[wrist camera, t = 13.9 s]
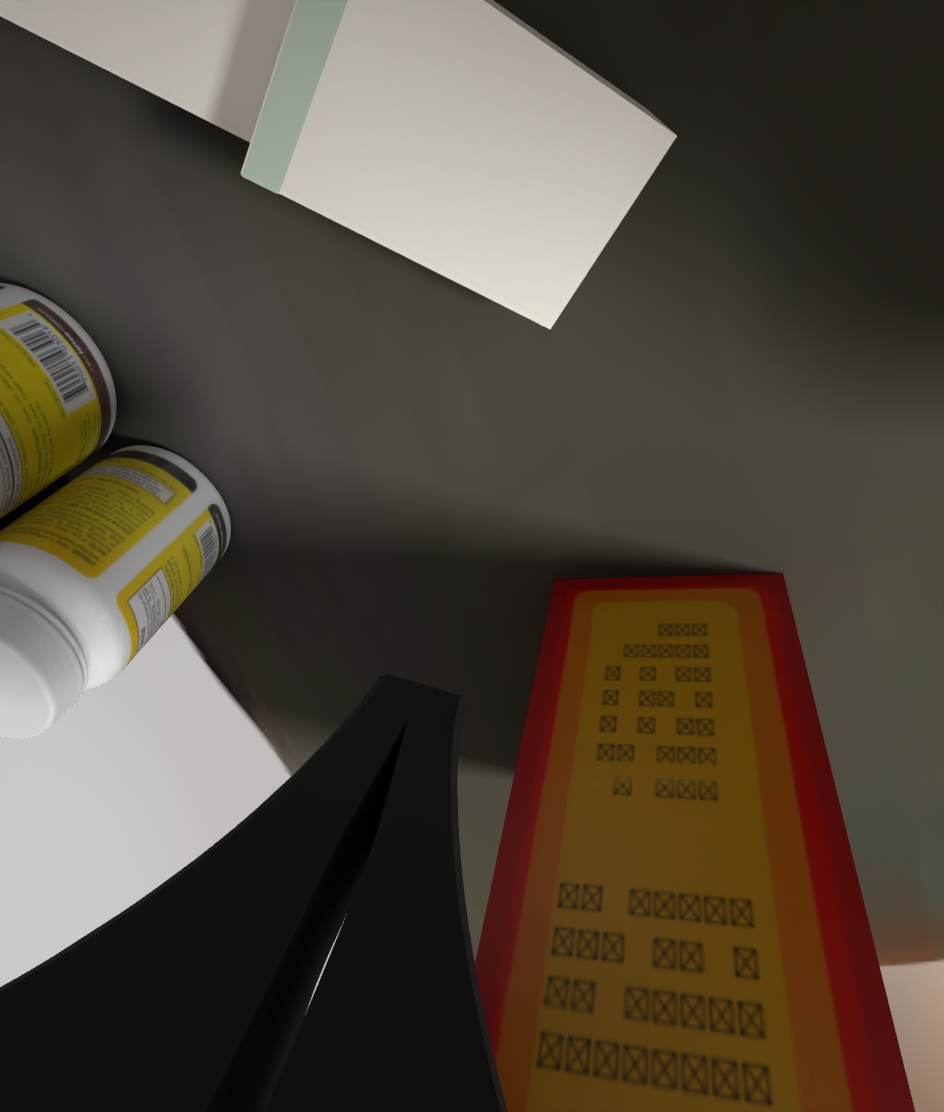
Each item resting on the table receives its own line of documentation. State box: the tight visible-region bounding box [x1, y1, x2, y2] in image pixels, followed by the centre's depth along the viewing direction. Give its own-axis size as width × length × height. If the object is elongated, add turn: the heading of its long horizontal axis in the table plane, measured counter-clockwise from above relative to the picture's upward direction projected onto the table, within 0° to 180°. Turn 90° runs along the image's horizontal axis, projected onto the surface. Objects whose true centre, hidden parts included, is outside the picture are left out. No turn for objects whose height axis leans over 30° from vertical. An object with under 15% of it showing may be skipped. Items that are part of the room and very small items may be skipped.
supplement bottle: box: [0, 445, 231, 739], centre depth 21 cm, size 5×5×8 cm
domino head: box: [241, 0, 677, 329], centre depth 14 cm, size 2×4×7 cm
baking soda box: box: [475, 573, 915, 1112], centre depth 17 cm, size 10×6×16 cm
